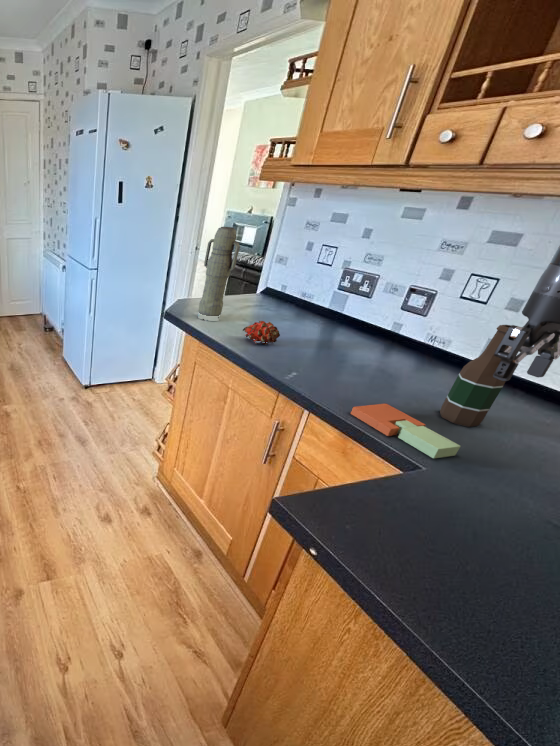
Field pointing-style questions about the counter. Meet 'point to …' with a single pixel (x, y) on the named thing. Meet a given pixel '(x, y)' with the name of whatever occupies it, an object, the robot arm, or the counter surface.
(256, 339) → the dragon fruit
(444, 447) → the sage pad
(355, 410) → the orange pad
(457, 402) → the beer bottle
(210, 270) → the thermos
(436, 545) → the counter surface
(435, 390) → the counter surface
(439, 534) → the counter surface
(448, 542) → the counter surface
